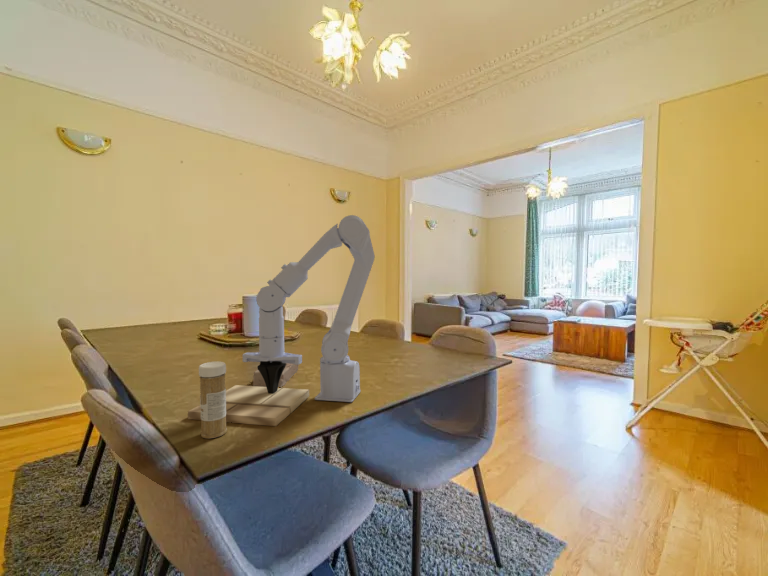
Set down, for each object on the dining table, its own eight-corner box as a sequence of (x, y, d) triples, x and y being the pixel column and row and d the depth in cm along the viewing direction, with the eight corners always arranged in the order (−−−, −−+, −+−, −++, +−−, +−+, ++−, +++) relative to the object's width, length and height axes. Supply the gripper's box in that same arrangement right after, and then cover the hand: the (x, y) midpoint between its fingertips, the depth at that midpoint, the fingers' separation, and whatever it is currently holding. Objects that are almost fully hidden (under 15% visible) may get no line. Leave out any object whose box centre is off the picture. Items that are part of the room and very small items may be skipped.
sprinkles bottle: (200, 431, 66) (198, 362, 66) (226, 426, 68) (224, 359, 68) (200, 441, 62) (198, 368, 62) (228, 436, 64) (226, 364, 64)
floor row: (289, 414, 74) (289, 406, 74) (275, 426, 68) (275, 417, 68) (207, 407, 78) (207, 400, 78) (188, 418, 72) (187, 410, 72)
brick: (282, 388, 92) (282, 371, 92) (251, 388, 92) (251, 371, 92) (299, 371, 108) (299, 356, 108) (273, 371, 109) (272, 356, 109)
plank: (309, 395, 85) (309, 389, 84) (290, 413, 75) (290, 405, 75) (236, 391, 88) (235, 384, 88) (209, 407, 79) (208, 399, 78)
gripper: (234, 338, 80) (235, 396, 81) (292, 340, 77) (293, 400, 78) (251, 333, 87) (252, 386, 87) (305, 335, 84) (306, 389, 85)
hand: (272, 392), depth 83 cm, fingers closed, pressing on plank
